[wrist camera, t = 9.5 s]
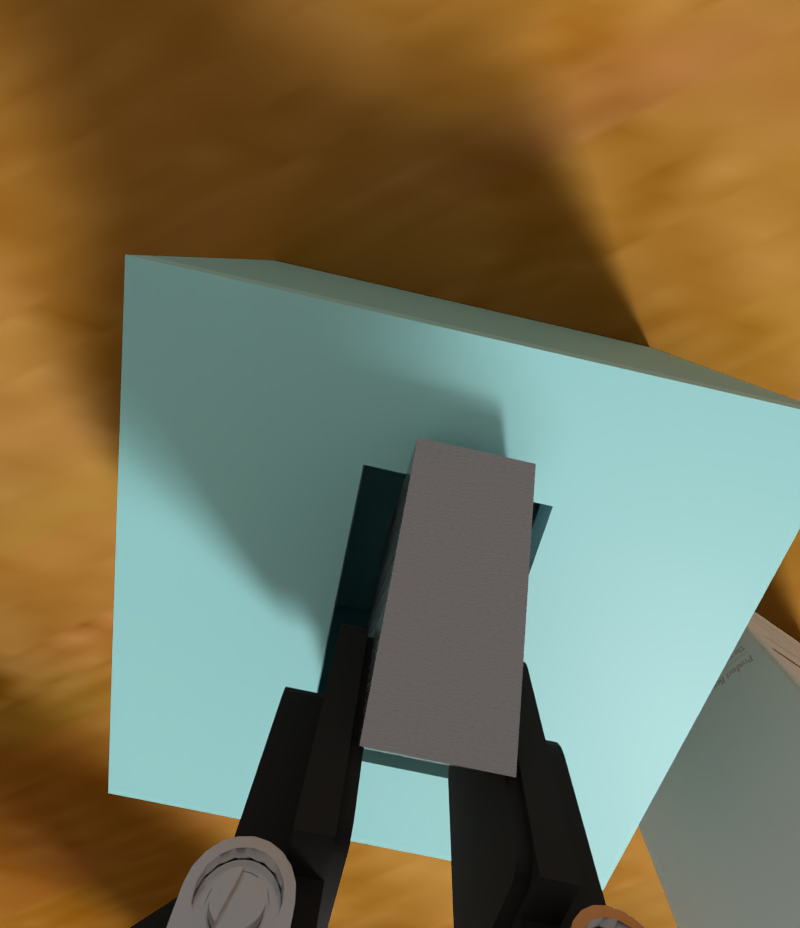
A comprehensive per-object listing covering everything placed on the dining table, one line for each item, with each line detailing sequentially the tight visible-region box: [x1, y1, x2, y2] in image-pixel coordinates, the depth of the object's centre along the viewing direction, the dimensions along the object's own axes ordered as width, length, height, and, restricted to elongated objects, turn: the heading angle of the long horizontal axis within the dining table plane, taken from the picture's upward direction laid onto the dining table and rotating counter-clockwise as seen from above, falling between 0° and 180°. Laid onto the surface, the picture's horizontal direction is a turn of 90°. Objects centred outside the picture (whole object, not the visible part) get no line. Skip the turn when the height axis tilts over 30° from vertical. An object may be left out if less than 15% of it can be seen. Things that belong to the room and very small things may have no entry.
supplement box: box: [639, 612, 800, 928], centre depth 18 cm, size 7×7×13 cm
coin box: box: [108, 255, 800, 891], centre depth 17 cm, size 14×14×10 cm
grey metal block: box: [358, 438, 536, 777], centre depth 11 cm, size 2×6×5 cm
